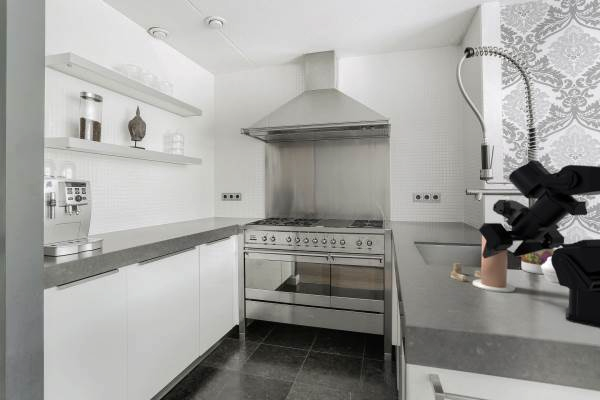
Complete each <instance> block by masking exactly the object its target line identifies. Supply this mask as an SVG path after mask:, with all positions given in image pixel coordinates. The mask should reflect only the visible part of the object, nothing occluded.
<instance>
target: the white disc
mask: <svg viewBox="0 0 600 400" xmlns="http://www.w3.org/2000/svg"><path fill="white" fill-rule="evenodd" d="M472 286H474V287H476V288H477V289H478V288H479V289H482V290H485V291H490V292H494V293H495V292H496V293H513V292H515V290H516V289H515V286H514V285H512V284H510V283H507V287H505V288H496V287H490V286H486V285H483V284H481V278H479V279H474V280H472Z"/></svg>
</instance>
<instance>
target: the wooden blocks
mask: <svg viewBox="0 0 600 400" xmlns="http://www.w3.org/2000/svg"><path fill="white" fill-rule="evenodd" d="M452 264H453V265H452V271H450V278H452V279H454V280H457V281H460V282H463V283H464V282H466V279H467V277H466V276H467V275H464V274H462V263H460V262H458V263H457V262H456V263H455V262H454V263H452ZM474 276H475V277H477V278H479V279H481V271H480V270H474Z"/></svg>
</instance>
